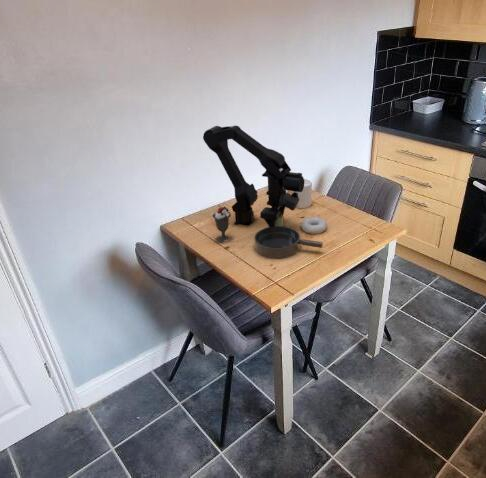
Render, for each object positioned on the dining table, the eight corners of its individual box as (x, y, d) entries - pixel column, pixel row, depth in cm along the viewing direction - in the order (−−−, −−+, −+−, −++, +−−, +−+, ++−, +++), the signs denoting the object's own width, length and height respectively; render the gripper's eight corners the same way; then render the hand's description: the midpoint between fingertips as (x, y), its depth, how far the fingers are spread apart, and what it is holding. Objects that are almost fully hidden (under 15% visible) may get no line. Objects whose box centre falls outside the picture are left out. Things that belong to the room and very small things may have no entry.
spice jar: (269, 230, 166) (268, 214, 162) (273, 224, 169) (272, 209, 166) (280, 231, 164) (280, 216, 161) (284, 226, 168) (284, 210, 165)
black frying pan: (248, 255, 150) (247, 244, 147) (264, 234, 163) (263, 223, 161) (292, 263, 145) (292, 251, 143) (305, 240, 158) (305, 229, 156)
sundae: (218, 245, 156) (214, 208, 149) (212, 237, 161) (208, 201, 154) (235, 241, 159) (232, 204, 151) (228, 233, 164) (225, 197, 156)
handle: (297, 245, 150) (297, 240, 149) (299, 242, 151) (299, 237, 150) (321, 249, 147) (321, 244, 146) (322, 246, 149) (322, 241, 148)
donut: (298, 234, 162) (325, 236, 160) (298, 226, 160) (325, 228, 159) (303, 222, 171) (328, 224, 169) (303, 214, 169) (328, 216, 167)
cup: (314, 206, 183) (315, 184, 178) (289, 211, 179) (288, 189, 174) (306, 198, 190) (306, 177, 185) (281, 204, 186) (280, 182, 181)
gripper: (289, 200, 149) (289, 240, 156) (303, 180, 164) (303, 217, 172) (258, 197, 152) (260, 235, 160) (276, 178, 167) (277, 214, 175)
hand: (276, 225), depth 166 cm, fingers open, 9 cm apart
